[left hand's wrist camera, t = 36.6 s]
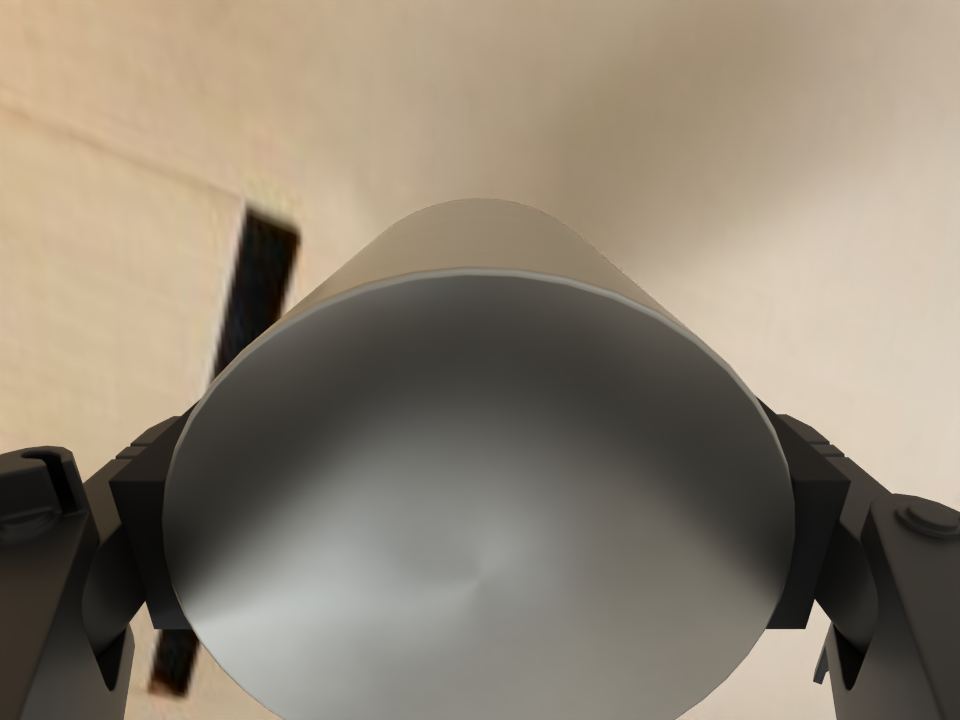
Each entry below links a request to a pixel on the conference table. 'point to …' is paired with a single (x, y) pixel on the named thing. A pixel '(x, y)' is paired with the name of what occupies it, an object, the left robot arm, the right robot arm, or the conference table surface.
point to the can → (478, 490)
